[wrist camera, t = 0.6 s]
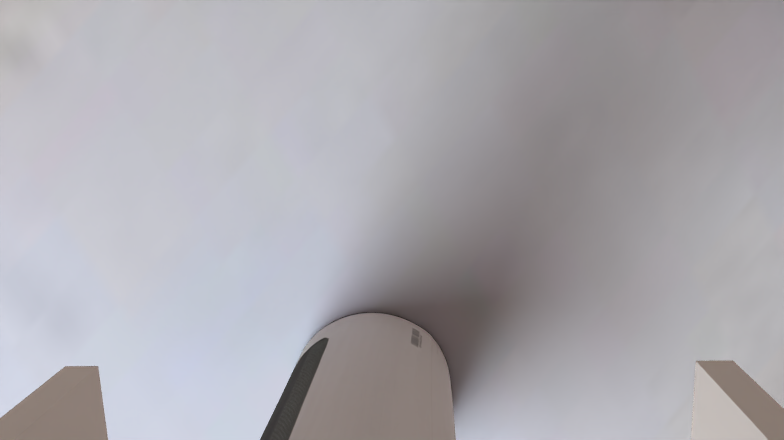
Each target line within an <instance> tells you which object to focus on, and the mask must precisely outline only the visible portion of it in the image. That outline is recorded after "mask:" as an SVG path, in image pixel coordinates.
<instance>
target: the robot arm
mask: <svg viewBox="0 0 784 440" xmlns="http://www.w3.org/2000/svg"><path fill="white" fill-rule="evenodd" d="M0 440H108V437H107V429H106V422H105V414H104V407H103V399H102V392H101V385H100V377H99V370H98V366H65V367H64V368H63V369H61V370H60V371H59V372H58V373H56V374H55V375H54V376H53V377H51V378H50V379H49V380H48V381H46V382H45V383H44V384H43V385H41V386H40V387H39V388H38V389H36V390H35V391H34V392H33V393H31V394H30V395H29V396H28V397H26V398H25V399H24V400H23V401H21V402H20V403H19V404H18V405H16V406H15V407H14V408H12V409H11V410H10V411H9V412H7V413H6V414H5V415H4V416H2V417H1V418H0ZM691 440H784V409H783V408H782V407H781V406H780V405H779V404H778V403H777V402H776V401H775V400H774V399H773V398H772V397H771V396H770V395H769V394H767V393H766V392H765V391H764V390H763V389H762V388H761V387H760V386H759V385H758V384H757V383H756V382H755V381H754V380H753V379H752V378H751V377H750V376H749V375H747V374H746V373H745V372H744V371H743V370H742V369H741V368H740V367H739V366H738V365H737V364H736V363H735V362H734V361H696V366H695V382H694V398H693V414H692V430H691Z"/></svg>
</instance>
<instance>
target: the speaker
mask: <svg viewBox="0 0 784 440" xmlns="http://www.w3.org/2000/svg"><path fill="white" fill-rule="evenodd" d="M260 440H456V438H455V424H454V411H453V401H452V391H451V382H450V374H449V369H448V365H447V362H446V359H445V357H444V355H443V353H442V351H441V349H440V347H439V346H438V344H437V343H436V342H435V340H434V339H433V338H432V336H431V335H430V334H429V333H428V332H426V331H425V330H424V329H422V328H421V327H419V326H417V325H416V324H414V323H411V322H409V321H407V320H405V319H403V318H400V317H397V316H393V315H388V314H382V313H362V314H356V315H351V316H348V317H344V318H342V319H339V320H337V321H335V322H333V323H331V324H329V325H327V326H326V327H324V328H323V329H321V330H320V331H319V332H318V333H317V334H316V335H315V336H314V337H313V338H312V339H311V340H310V341H309V342H308V344H307V345H306V346H305V348H304V350H303V352H302V354H301V356H300V358H299V360H298V362H297V364H296V366H295V368H294V370H293V372H292V374H291V377H290V379H289V381H288V383H287V385H286V387H285V389H284V391H283V393H282V396H281V398H280V400H279V402H278V404H277V406H276V408H275V410H274V412H273V414H272V416H271V418H270V420H269V422H268V424H267V426H266V429H265V431H264V433H263V435H262V437H261V439H260Z"/></svg>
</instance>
